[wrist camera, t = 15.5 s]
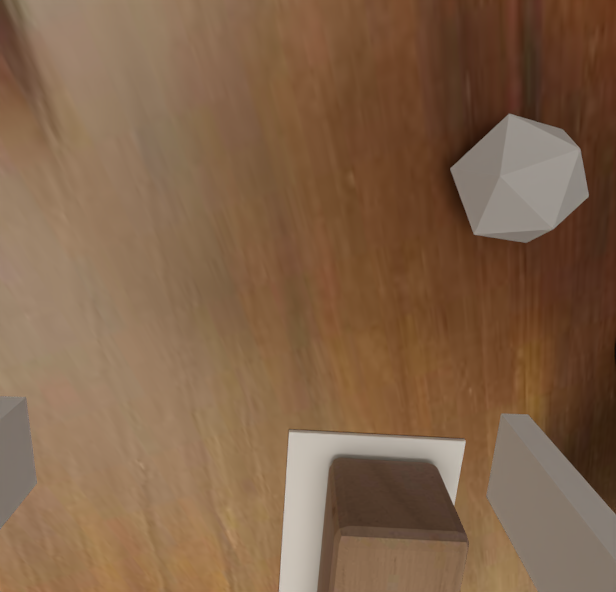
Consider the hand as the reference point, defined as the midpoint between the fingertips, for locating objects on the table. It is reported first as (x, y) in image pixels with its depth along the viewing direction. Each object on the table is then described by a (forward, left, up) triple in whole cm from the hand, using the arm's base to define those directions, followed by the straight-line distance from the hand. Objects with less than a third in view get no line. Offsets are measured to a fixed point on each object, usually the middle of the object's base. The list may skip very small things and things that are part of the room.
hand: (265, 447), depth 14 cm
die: (-16, -7, -27) cm, 32 cm away
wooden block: (-10, +38, -21) cm, 45 cm away
